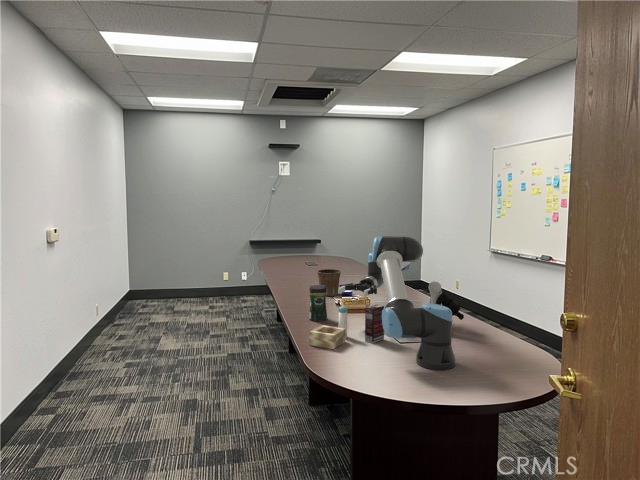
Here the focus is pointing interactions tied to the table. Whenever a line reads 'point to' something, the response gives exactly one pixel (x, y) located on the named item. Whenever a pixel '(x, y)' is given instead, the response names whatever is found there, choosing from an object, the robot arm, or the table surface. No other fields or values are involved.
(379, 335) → the supplement box
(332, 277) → the plant pot
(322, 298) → the coffee jar
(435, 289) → the sculpture
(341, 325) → the marker
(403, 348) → the table surface
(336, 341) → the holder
